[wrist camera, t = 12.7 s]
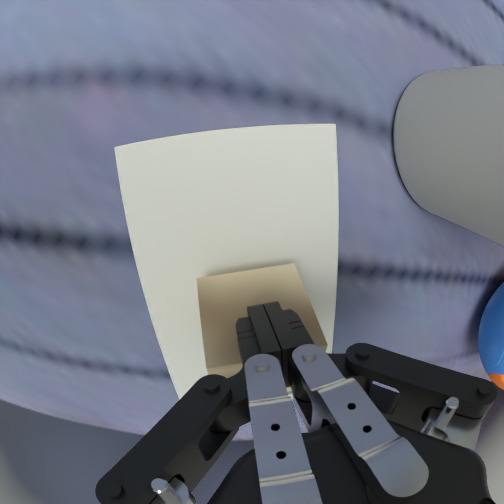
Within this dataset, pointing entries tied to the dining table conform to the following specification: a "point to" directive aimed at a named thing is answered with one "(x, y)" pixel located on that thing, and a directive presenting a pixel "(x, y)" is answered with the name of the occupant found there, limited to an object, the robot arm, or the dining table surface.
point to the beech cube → (235, 306)
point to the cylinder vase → (455, 146)
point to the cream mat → (229, 222)
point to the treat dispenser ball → (493, 337)
